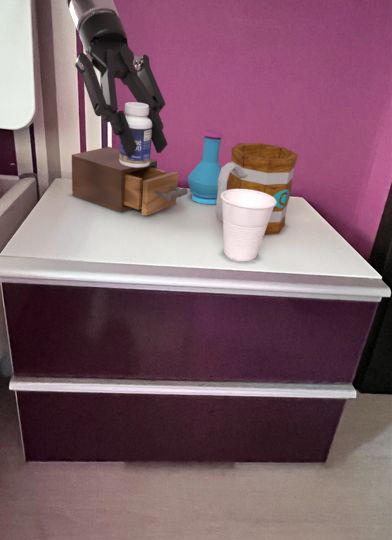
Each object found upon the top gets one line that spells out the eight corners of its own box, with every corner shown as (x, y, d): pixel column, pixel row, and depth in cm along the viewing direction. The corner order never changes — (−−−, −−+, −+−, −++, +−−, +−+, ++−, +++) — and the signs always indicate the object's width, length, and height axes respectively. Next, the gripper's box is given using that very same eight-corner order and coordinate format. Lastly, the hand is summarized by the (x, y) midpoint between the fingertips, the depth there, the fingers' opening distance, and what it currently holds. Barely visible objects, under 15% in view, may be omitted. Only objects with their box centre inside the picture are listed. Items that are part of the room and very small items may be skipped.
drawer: (192, 209, 120) (195, 177, 117) (162, 221, 113) (164, 187, 109) (131, 189, 127) (132, 158, 124) (99, 199, 120) (99, 167, 116)
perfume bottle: (209, 191, 135) (216, 125, 127) (233, 203, 130) (243, 135, 121) (178, 195, 130) (183, 127, 122) (201, 208, 125) (209, 138, 116)
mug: (248, 208, 128) (259, 139, 120) (297, 227, 121) (312, 155, 112) (189, 225, 115) (196, 150, 107) (239, 247, 108) (251, 169, 100)
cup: (227, 268, 99) (235, 208, 93) (205, 246, 107) (212, 189, 101) (275, 264, 103) (287, 206, 97) (251, 243, 110) (260, 187, 104)
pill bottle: (113, 163, 97) (114, 103, 92) (128, 157, 101) (130, 99, 96) (141, 170, 96) (143, 109, 90) (155, 163, 100) (158, 105, 94)
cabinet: (155, 200, 126) (157, 160, 121) (120, 212, 117) (121, 170, 112) (108, 185, 131) (108, 146, 127) (72, 195, 123) (71, 154, 118)
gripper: (136, 43, 104) (180, 157, 102) (42, 39, 94) (90, 166, 92) (153, 13, 98) (201, 134, 96) (55, 5, 87) (107, 141, 86)
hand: (147, 149), depth 94 cm, fingers closed on pill bottle, 5 cm apart
